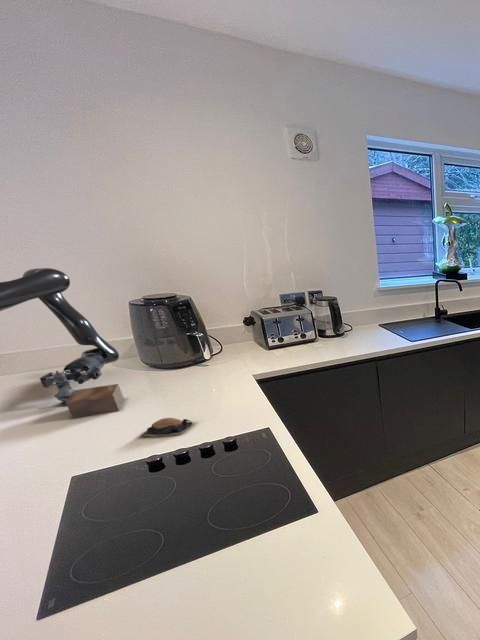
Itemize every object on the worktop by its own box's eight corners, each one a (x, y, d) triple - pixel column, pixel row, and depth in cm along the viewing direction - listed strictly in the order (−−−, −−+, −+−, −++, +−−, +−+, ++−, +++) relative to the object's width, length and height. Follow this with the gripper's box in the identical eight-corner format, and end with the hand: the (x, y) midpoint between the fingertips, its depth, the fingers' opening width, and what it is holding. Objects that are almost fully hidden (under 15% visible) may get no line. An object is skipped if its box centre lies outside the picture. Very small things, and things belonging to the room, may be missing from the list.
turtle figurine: (140, 438, 118) (135, 427, 116) (158, 425, 125) (154, 414, 124) (180, 436, 119) (176, 425, 118) (195, 422, 127) (192, 412, 126)
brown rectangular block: (72, 418, 128) (65, 401, 125) (80, 406, 136) (74, 390, 134) (119, 410, 134) (112, 394, 131) (124, 399, 142) (118, 383, 140)
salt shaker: (58, 408, 134) (43, 375, 130) (58, 402, 138) (43, 370, 133) (83, 403, 138) (69, 370, 134) (82, 398, 142) (68, 366, 137)
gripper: (52, 361, 145) (28, 376, 132) (104, 356, 151) (86, 370, 138) (61, 380, 148) (37, 396, 135) (111, 375, 154) (94, 390, 141)
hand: (62, 383), depth 136 cm, fingers open, 8 cm apart
